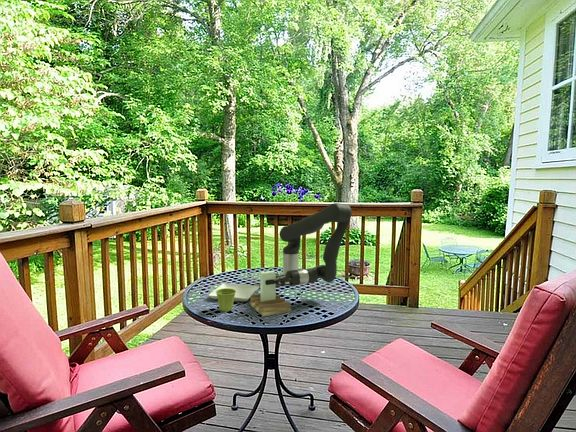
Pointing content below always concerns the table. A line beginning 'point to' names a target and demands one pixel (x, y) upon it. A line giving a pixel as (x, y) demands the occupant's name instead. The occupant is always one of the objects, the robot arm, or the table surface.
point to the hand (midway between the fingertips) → (264, 281)
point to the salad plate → (237, 291)
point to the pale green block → (267, 286)
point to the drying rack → (270, 305)
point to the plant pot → (225, 298)
